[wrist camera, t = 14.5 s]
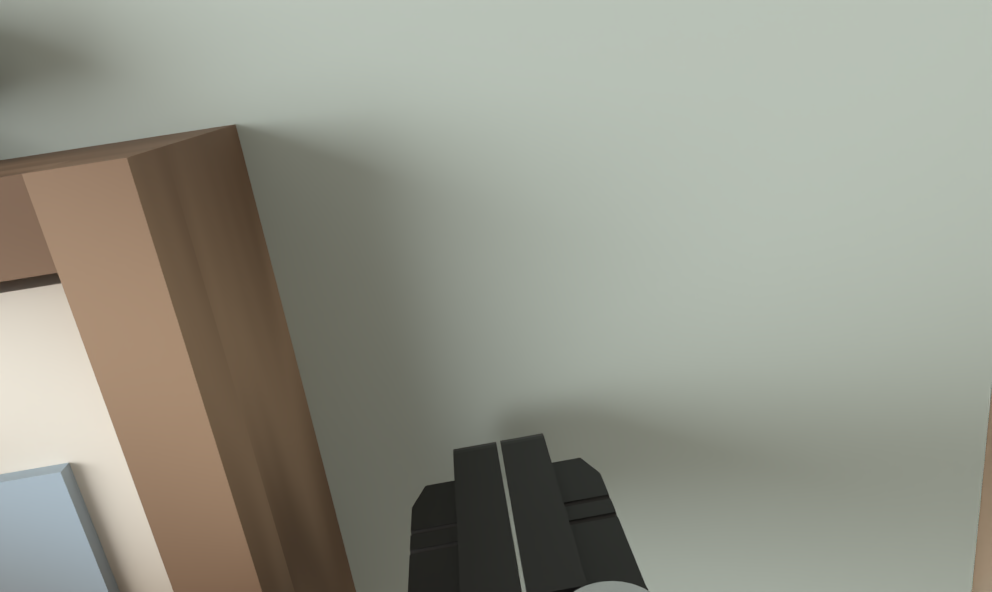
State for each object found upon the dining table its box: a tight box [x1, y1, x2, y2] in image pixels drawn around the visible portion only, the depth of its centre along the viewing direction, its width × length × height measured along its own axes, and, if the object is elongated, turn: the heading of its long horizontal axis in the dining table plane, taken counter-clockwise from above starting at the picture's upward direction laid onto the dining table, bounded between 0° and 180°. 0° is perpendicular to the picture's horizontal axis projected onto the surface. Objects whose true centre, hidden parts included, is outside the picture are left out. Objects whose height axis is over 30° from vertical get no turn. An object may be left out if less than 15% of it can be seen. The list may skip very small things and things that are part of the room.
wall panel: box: [0, 0, 992, 592], centre depth 12 cm, size 24×20×4 cm
